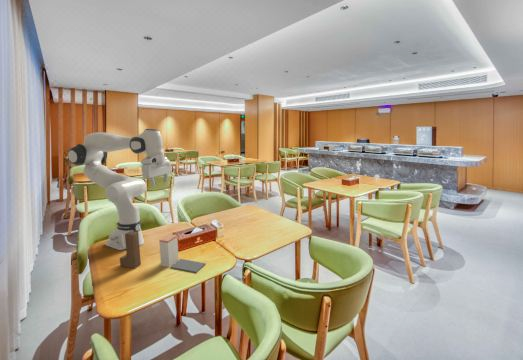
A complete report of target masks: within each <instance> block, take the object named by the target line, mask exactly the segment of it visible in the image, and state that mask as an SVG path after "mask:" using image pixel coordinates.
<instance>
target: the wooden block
mask: <svg viewBox="0 0 523 360" xmlns="http://www.w3.org/2000/svg"><path fill="white" fill-rule="evenodd" d="M125 241H126V249H125V251H126V254H125V255H122V256H121V257H119V264H120V267H125V268H129V269H130V268H131V269H136V268H138V267H140V266H141V265H142V262H141V249H140V246H139V235H138V232H136V231H130V232H128V233H126V234H125Z"/></svg>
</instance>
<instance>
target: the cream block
mask: <svg viewBox="0 0 523 360" xmlns="http://www.w3.org/2000/svg"><path fill="white" fill-rule="evenodd" d="M178 241H179V240H178V235H176V234H173V233H172V234H170V233H169V234H167V235H165V236H164V237H162V238H160V239H159V254H160V255H159V256H160V266H162V267H167V268H170V267H171V266H172V265H173V264H174V263H176V262H177V261H178V260H180V258H179V245H178V244H179V242H178Z"/></svg>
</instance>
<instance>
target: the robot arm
mask: <svg viewBox="0 0 523 360" xmlns="http://www.w3.org/2000/svg"><path fill="white" fill-rule="evenodd" d="M84 138H85V139H84V143H83V144H80V143H79V144H76V145H75V146H73V147H71V148H70V149H69V150H68V152H67V159H68V161H69V162H70V163H71V164H72V165H76V166H82V165H84V167H83V171H82V172H83V175H84V176H85V177H86V178H87V179H88V180H90V181H91V182H92V183H94V184H95V185H98V186H100V187H101V188H103V189H105V191H104V196H105V198H106V199H107V200H108V201H109V202H111V203H113V205H114V206H115V207H116V209H117V215H118V222H117V223H115V226H117V227H116V228H115V229H114V230H113V231H111V232H110V234H109V235H108V240H107V241H105V242H104V246H107V247H110V248H112V249H116V250H119V251H122V250H126V241H125V234H126V233H128V232H130V231H136V232H138V235H139V247H140V246H142V245H143V244H144V243H145V240H144V236H143V231H142V228H141V227H142V222H141V221H142V220H141V219H140V209H139V206H137V205H136V204H134V203H133V201H132V199H134V198H136V197H139V196H141V195H142V194H144V193H145V192H146V190H147V183H146V182H145V180H144V179H148V180H149V182H150V183H151V186H152V187H154V186H157V183H156V181H155V178H156V177H160V176H163V179H162V182H163V183H168V176H169V174H172V172H173V168H172V163H171V161H170V159H169V158H168V157H167V156H165V151H164V149H163V147H164V145H163V143H164V142H163V137H162V135H161V132H160V130H158V129H156V128H145V129H144V130H143V132H141V133H140V134H137V136H132V137H131V136H125V135H120V134H115V133H110V132H101V131H99V132H97V131H96V132H92V133H88V134H87V135H86V136H85V137H84ZM126 149H130V150H131V152H132V153H133V154H138V155H140V154H141V155H143V154H146V156H145V157H143V158H142V159H141V160H140V163H141V174H142V175H141V176H142V178H143V179H142V178H140V177H139V178H137V177H131V176H128V175H125V174H121V173H118V172H116V171H113V170H111V169H110V168H108V167H106V166H104V164H105V163H106V161H107V158H108V152H109V153H111V152H117V151H121V150H126Z"/></svg>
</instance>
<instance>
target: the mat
mask: <svg viewBox="0 0 523 360" xmlns="http://www.w3.org/2000/svg"><path fill="white" fill-rule="evenodd" d="M205 266H206V262H200V261H194V260H191V259H190V260H189V259H184V258H179V260H178V261H177V262H175V263H174V264H173V265H171V266H170V267H169V268H170V269H174V270H178V271H179V270H180V271H184V272H185V271H186V272H189V273H195V274H198V272H199V271H200V270H202V269H203V267H205Z"/></svg>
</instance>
